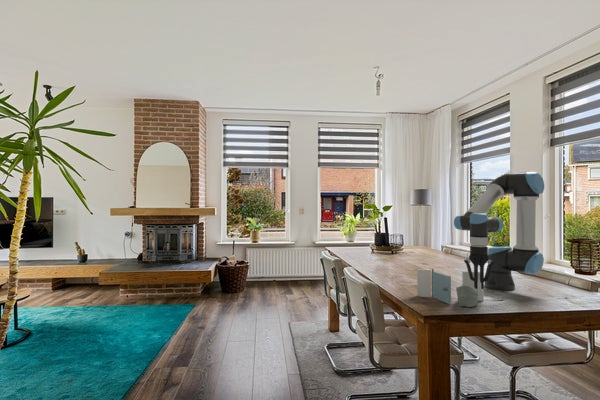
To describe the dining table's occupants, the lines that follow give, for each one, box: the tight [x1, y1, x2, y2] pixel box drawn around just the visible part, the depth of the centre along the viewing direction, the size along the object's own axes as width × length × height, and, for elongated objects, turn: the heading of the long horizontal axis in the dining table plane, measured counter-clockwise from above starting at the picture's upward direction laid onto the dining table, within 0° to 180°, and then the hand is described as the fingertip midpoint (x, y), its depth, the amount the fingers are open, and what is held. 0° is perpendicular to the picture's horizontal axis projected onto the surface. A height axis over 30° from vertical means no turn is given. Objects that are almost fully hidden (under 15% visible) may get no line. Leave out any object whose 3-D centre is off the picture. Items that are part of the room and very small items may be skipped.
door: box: [432, 270, 452, 305], centre depth 171 cm, size 12×3×13 cm, turn 14°
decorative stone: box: [455, 285, 479, 308], centre depth 165 cm, size 13×11×10 cm
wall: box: [416, 268, 485, 302], centre depth 176 cm, size 31×1×14 cm, turn 74°
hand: (478, 295), depth 165 cm, fingers closed
